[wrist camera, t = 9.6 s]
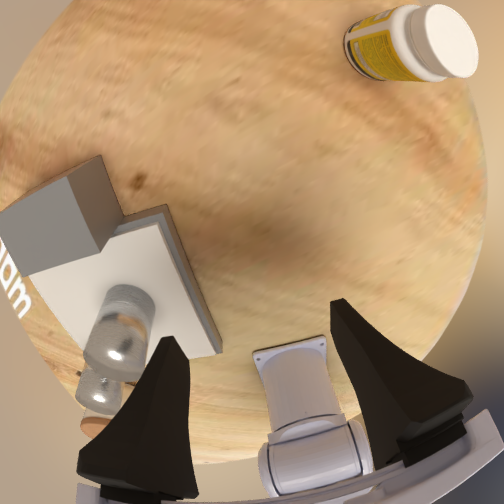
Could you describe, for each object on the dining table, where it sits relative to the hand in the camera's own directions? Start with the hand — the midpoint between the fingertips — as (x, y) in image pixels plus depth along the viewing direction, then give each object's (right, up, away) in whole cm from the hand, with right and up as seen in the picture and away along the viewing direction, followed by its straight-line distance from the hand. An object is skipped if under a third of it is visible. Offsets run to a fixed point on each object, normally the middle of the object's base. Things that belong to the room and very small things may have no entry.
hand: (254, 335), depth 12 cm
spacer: (-10, -1, +8) cm, 13 cm away
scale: (-12, +1, +9) cm, 16 cm away
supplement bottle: (+8, +18, +2) cm, 20 cm away
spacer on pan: (-15, -7, +12) cm, 20 cm away
